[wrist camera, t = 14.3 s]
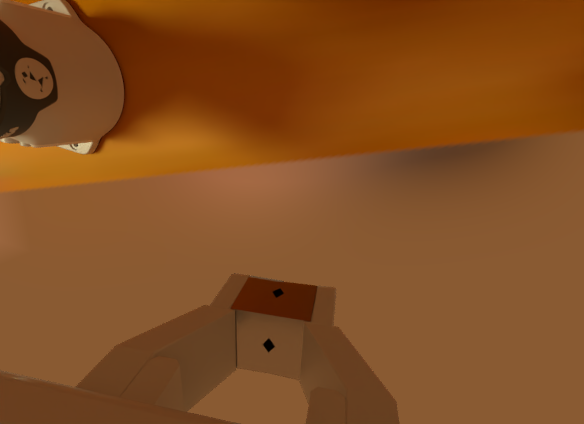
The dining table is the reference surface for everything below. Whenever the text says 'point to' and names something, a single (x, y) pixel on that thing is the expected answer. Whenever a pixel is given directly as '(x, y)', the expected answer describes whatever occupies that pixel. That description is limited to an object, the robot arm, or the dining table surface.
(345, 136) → the dining table surface
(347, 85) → the dining table surface
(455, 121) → the dining table surface
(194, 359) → the robot arm
